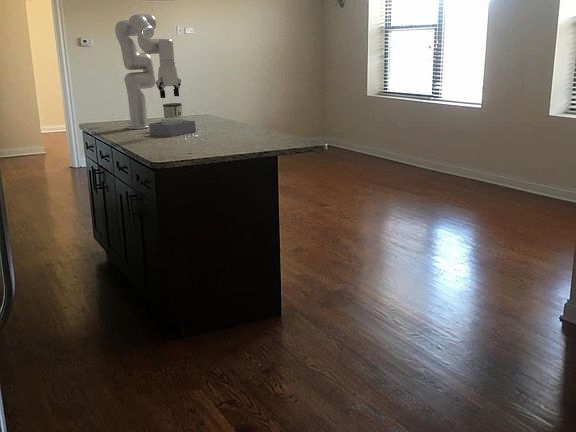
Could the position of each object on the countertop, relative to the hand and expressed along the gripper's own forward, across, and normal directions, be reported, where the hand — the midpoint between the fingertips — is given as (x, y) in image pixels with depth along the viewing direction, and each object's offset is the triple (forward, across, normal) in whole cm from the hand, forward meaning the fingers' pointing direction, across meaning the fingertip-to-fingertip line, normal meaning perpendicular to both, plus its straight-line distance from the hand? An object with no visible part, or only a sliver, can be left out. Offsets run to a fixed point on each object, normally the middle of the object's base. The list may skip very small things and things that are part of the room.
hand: (169, 97), depth 334 cm
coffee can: (+20, -14, -14) cm, 28 cm away
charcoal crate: (+19, 0, 0) cm, 19 cm away
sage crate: (+18, 0, 0) cm, 18 cm away
